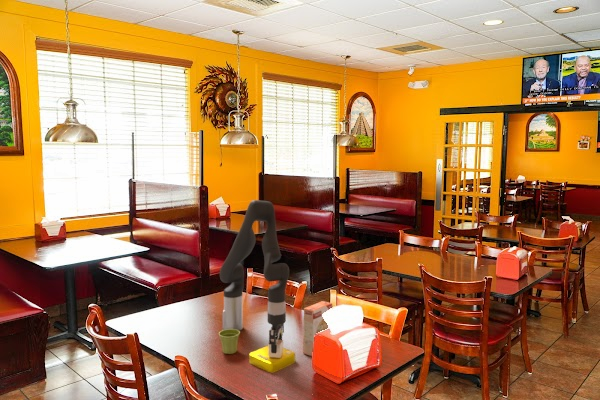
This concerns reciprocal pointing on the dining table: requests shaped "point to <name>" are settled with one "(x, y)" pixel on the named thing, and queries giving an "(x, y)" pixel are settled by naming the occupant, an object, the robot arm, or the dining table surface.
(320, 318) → the cracker box
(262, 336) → the dining table surface
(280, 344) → the cream brown block
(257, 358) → the element tile
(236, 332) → the plant pot
